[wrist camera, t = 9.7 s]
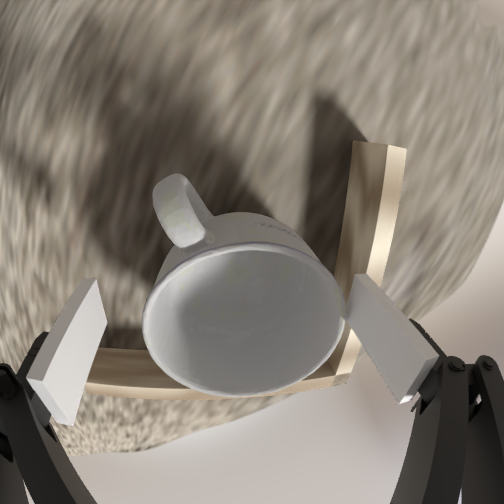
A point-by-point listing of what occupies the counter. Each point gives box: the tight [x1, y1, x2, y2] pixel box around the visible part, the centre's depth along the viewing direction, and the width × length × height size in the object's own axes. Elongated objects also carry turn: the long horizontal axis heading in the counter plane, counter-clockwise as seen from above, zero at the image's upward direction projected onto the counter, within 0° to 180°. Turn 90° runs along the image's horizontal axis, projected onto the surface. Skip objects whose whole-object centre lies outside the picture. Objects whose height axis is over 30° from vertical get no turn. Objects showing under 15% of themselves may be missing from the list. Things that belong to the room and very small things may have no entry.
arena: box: [85, 141, 406, 400], centre depth 19 cm, size 20×22×4 cm
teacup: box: [142, 173, 346, 397], centre depth 17 cm, size 14×11×8 cm
